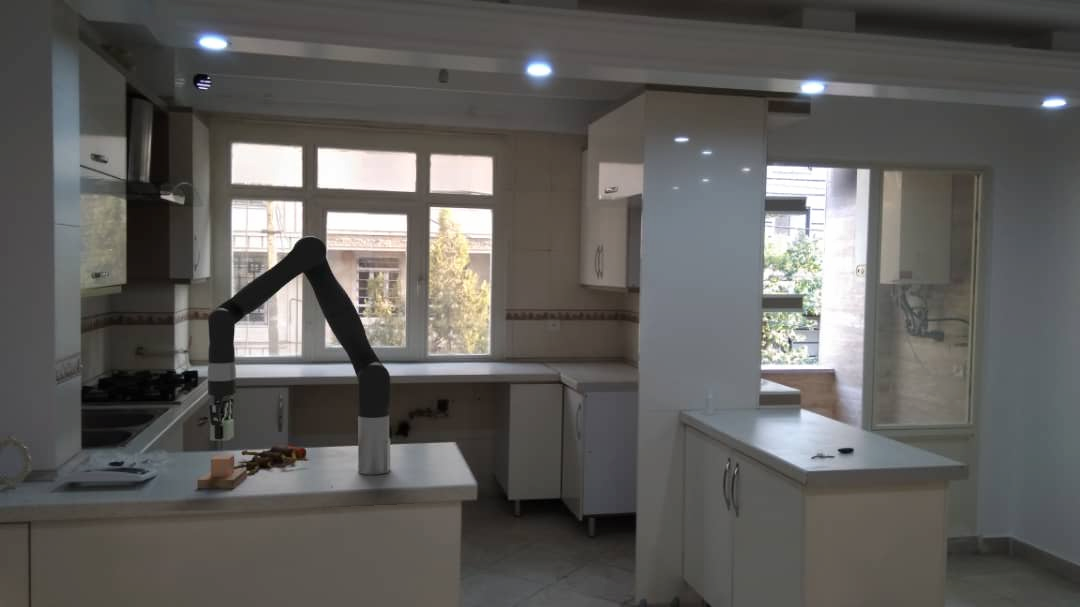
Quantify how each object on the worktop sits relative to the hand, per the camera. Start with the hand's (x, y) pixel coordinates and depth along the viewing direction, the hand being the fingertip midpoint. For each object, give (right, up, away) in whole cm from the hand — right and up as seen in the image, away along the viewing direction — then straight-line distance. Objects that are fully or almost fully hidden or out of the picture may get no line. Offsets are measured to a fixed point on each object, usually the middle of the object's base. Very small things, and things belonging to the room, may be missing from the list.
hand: (222, 436), depth 241 cm
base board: (0, -13, +1) cm, 13 cm away
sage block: (0, 0, 0) cm, 0 cm away
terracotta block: (0, -11, 0) cm, 11 cm away
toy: (+5, -13, +22) cm, 26 cm away
